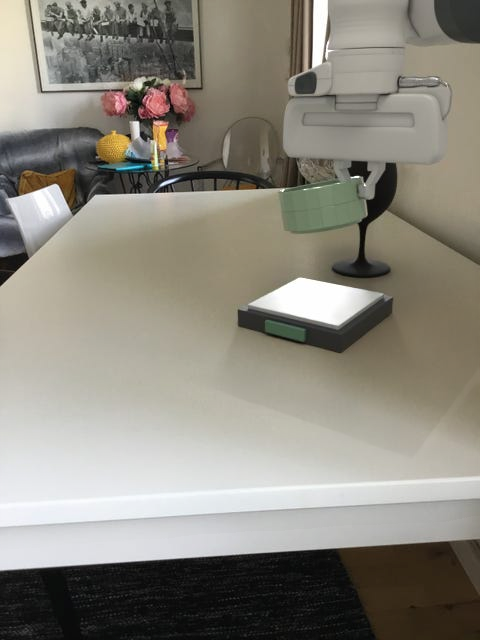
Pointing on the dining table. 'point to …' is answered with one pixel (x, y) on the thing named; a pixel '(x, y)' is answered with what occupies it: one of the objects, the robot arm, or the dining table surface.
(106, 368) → the dining table surface
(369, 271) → the wine glass
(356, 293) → the scale
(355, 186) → the bowl
